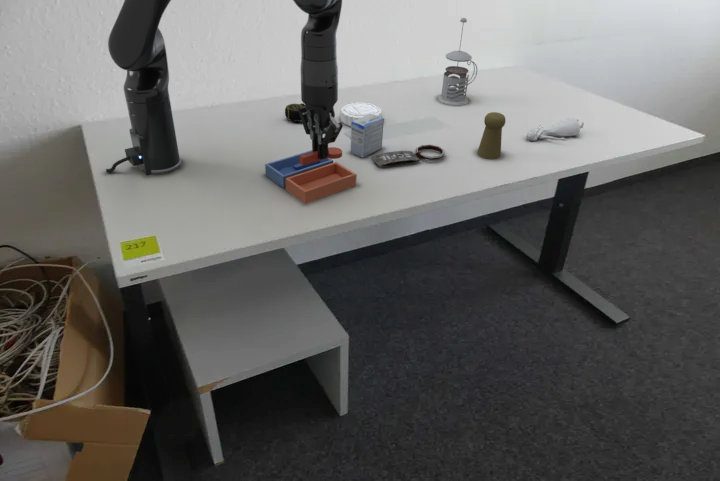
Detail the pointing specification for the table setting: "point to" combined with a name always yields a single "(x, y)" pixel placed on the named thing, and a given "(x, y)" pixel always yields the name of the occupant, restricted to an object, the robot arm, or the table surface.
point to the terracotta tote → (320, 182)
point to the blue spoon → (297, 167)
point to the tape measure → (293, 112)
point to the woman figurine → (557, 130)
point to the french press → (456, 78)
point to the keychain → (407, 156)
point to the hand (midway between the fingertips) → (320, 156)
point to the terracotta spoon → (313, 156)
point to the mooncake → (357, 112)
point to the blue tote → (276, 166)
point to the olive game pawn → (492, 136)
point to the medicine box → (366, 135)
